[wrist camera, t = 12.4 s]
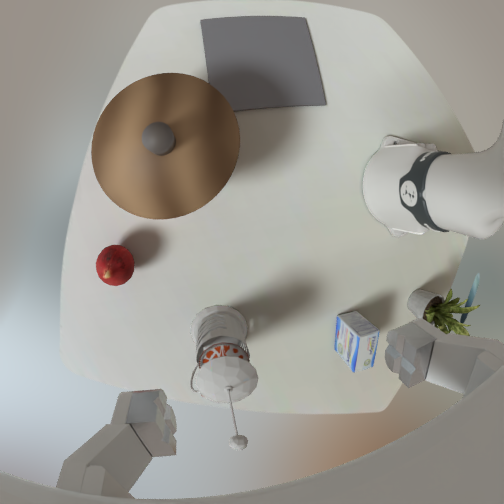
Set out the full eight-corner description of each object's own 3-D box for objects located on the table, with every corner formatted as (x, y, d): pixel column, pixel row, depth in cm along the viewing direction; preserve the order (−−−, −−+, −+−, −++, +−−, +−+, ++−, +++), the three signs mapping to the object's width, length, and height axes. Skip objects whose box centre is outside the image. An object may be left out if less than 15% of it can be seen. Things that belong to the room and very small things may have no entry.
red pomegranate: (105, 239, 40) (86, 251, 32) (139, 241, 41) (126, 254, 33) (105, 274, 41) (88, 292, 33) (138, 278, 42) (127, 297, 34)
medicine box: (336, 314, 50) (358, 336, 42) (356, 310, 51) (380, 330, 42) (333, 349, 52) (353, 373, 44) (353, 344, 53) (374, 367, 44)
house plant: (378, 333, 53) (425, 374, 38) (396, 270, 50) (454, 300, 35) (422, 328, 56) (467, 361, 40) (439, 273, 53) (491, 297, 38)
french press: (259, 326, 48) (307, 436, 24) (216, 369, 48) (233, 484, 24) (215, 293, 45) (234, 403, 21) (172, 340, 45) (160, 459, 22)
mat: (303, 18, 36) (304, 17, 35) (324, 105, 41) (325, 104, 40) (200, 21, 33) (200, 19, 33) (213, 113, 38) (214, 113, 38)
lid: (226, 66, 28) (231, 48, 23) (249, 202, 32) (258, 205, 27) (89, 97, 26) (73, 85, 21) (108, 231, 30) (93, 240, 25)
